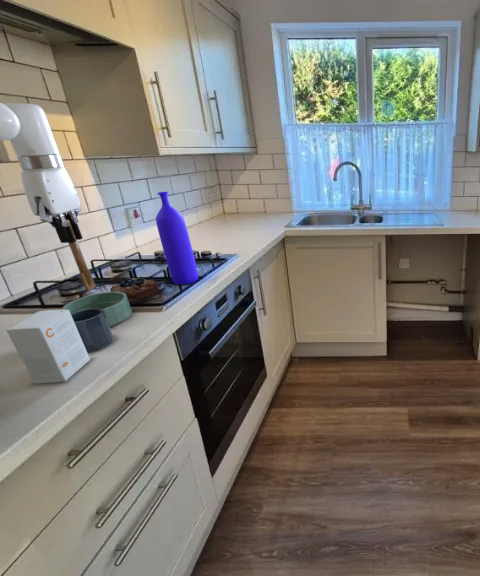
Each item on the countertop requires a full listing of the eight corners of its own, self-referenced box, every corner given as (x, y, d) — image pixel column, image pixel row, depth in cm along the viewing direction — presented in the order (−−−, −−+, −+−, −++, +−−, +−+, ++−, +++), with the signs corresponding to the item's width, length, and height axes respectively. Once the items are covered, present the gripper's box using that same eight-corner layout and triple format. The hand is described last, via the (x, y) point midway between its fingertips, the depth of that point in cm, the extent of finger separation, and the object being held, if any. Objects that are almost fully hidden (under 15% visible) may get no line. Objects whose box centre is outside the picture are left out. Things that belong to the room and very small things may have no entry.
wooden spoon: (83, 291, 94) (55, 220, 87) (91, 287, 97) (64, 217, 89) (91, 291, 95) (63, 219, 87) (98, 286, 97) (71, 217, 90)
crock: (68, 353, 84) (55, 323, 81) (89, 337, 91) (77, 309, 88) (102, 351, 85) (90, 321, 82) (120, 335, 92) (109, 307, 89)
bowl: (55, 335, 92) (47, 316, 90) (91, 310, 105) (84, 293, 103) (114, 331, 94) (107, 312, 91) (142, 307, 106) (136, 290, 104)
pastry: (129, 306, 107) (123, 288, 105) (106, 299, 112) (100, 281, 110) (164, 292, 116) (159, 275, 114) (142, 286, 121) (137, 270, 119)
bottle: (174, 287, 120) (148, 195, 108) (171, 279, 126) (146, 192, 114) (201, 281, 124) (179, 192, 112) (196, 274, 130) (175, 189, 118)
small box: (62, 361, 82) (38, 310, 76) (91, 359, 82) (69, 308, 77) (32, 384, 74) (4, 329, 69) (65, 382, 74) (39, 327, 69)
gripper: (50, 161, 90) (77, 233, 97) (-6, 167, 75) (31, 251, 83) (82, 160, 90) (106, 231, 98) (32, 166, 76) (66, 249, 84)
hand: (72, 240), depth 90 cm, fingers closed on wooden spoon, 1 cm apart
